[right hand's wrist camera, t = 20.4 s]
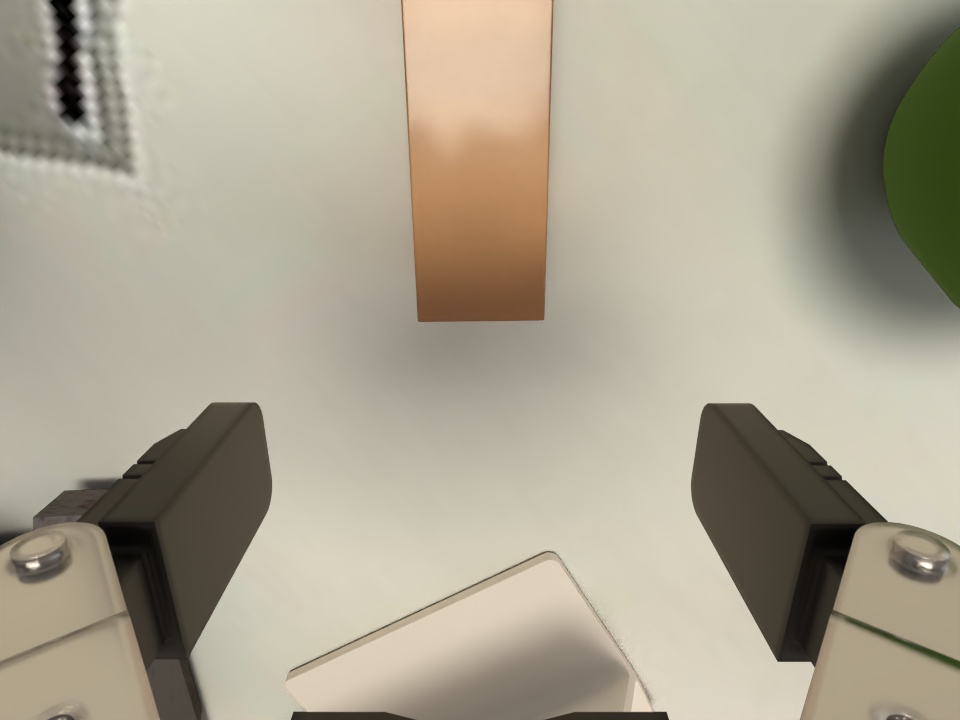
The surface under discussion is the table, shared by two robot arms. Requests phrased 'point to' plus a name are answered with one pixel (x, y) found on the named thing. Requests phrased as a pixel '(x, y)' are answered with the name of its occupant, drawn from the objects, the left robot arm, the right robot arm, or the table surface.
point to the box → (479, 155)
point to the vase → (929, 167)
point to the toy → (164, 675)
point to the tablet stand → (482, 657)
